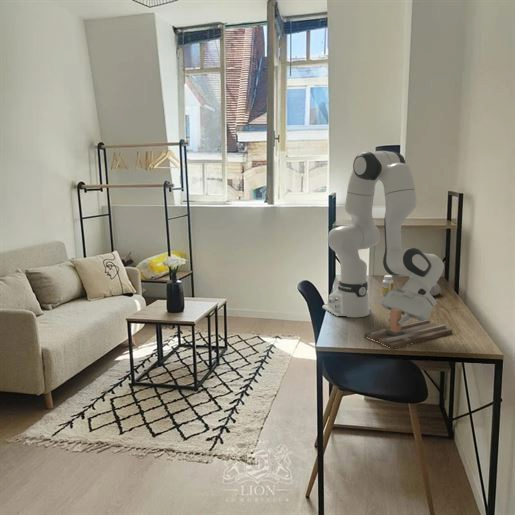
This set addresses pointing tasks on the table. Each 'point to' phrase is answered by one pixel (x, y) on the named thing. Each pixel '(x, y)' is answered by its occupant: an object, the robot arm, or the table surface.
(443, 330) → the track board
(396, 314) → the fader tab
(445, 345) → the table surface
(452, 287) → the table surface
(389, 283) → the supplement bottle
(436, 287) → the sea urchin shell
